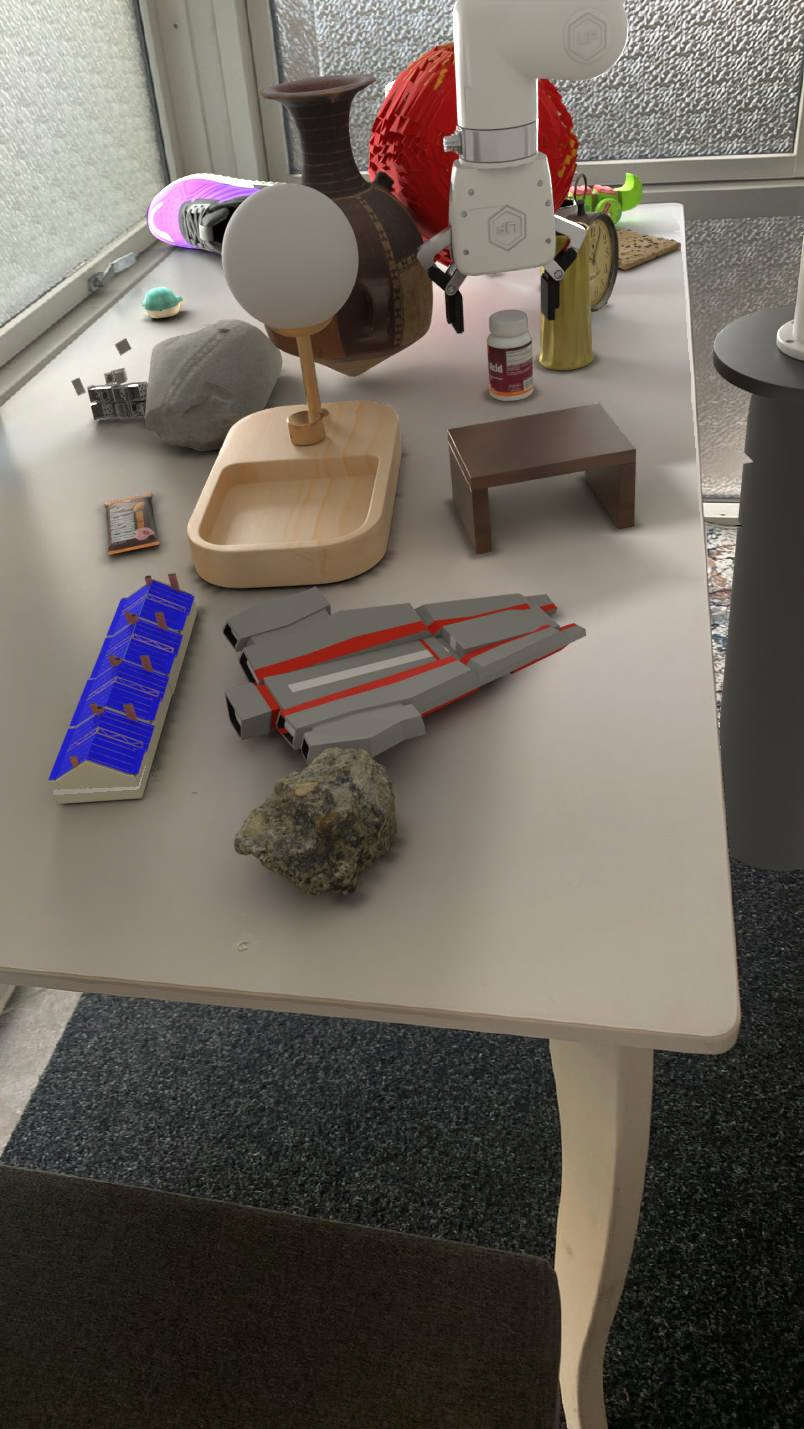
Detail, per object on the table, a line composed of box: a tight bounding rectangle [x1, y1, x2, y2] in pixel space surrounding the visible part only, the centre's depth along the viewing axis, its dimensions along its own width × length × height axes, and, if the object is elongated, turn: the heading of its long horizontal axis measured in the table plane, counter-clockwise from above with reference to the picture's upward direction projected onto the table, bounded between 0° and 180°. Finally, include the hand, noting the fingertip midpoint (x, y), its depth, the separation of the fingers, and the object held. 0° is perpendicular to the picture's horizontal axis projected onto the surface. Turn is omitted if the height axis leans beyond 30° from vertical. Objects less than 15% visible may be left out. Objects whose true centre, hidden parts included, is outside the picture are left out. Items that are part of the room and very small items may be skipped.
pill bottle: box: [486, 309, 534, 402], centre depth 119 cm, size 5×5×8 cm
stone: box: [144, 318, 284, 452], centre depth 125 cm, size 26×7×15 cm
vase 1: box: [257, 73, 434, 378], centre depth 121 cm, size 23×19×30 cm
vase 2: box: [538, 222, 595, 371], centre depth 122 cm, size 6×6×14 cm
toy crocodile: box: [565, 172, 643, 226], centre depth 164 cm, size 20×7×6 cm, turn 98°
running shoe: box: [145, 172, 286, 256], centre depth 172 cm, size 11×29×15 cm
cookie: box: [616, 228, 682, 270], centre depth 155 cm, size 12×12×1 cm
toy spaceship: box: [221, 585, 587, 767], centre depth 81 cm, size 19×27×5 cm
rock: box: [233, 747, 398, 897], centre depth 67 cm, size 6×9×10 cm
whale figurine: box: [141, 286, 185, 319], centre depth 154 cm, size 6×7×4 cm
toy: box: [367, 41, 580, 268], centre depth 128 cm, size 23×24×30 cm
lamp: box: [186, 182, 403, 589], centre depth 99 cm, size 33×17×25 cm, turn 176°
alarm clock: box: [564, 173, 619, 313], centre depth 132 cm, size 11×5×16 cm, turn 146°
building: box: [47, 572, 198, 805], centre depth 83 cm, size 23×6×4 cm, turn 179°
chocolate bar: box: [103, 492, 160, 556], centre depth 106 cm, size 11×5×1 cm, turn 14°
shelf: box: [446, 403, 637, 555], centre depth 98 cm, size 14×10×7 cm
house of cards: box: [70, 337, 148, 422], centre depth 127 cm, size 9×9×8 cm
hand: (503, 323), depth 116 cm, fingers open, 9 cm apart
